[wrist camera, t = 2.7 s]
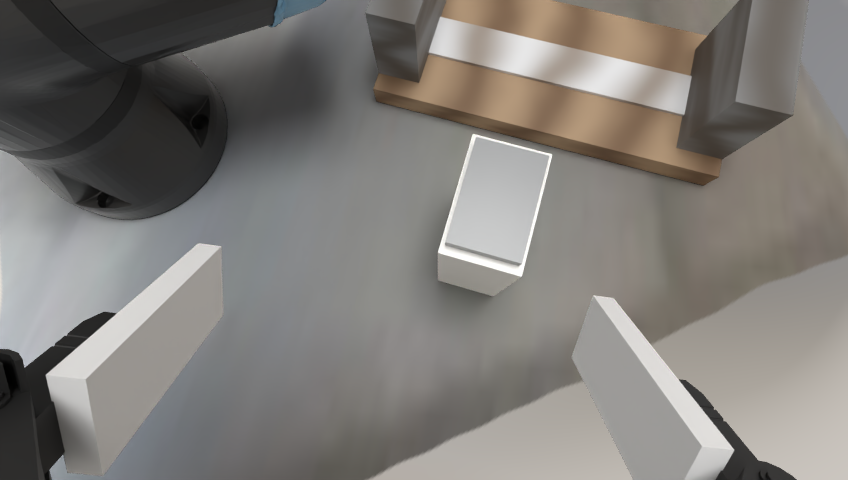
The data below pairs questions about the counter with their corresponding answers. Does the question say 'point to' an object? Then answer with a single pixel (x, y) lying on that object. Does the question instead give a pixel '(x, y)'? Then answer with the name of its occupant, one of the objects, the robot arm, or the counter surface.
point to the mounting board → (594, 76)
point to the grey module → (492, 216)
